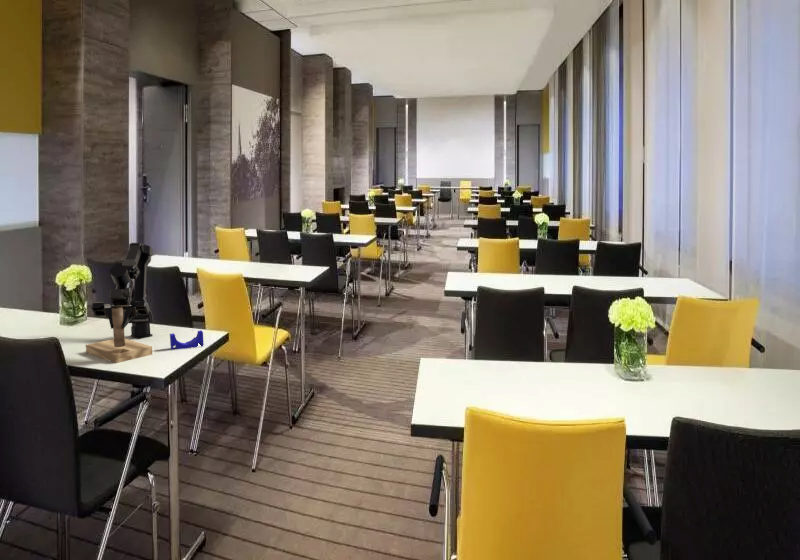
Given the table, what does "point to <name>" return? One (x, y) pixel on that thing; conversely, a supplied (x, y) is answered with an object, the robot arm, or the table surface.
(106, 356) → the stool seat
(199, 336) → the blue cradle bracket
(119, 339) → the stool leg
